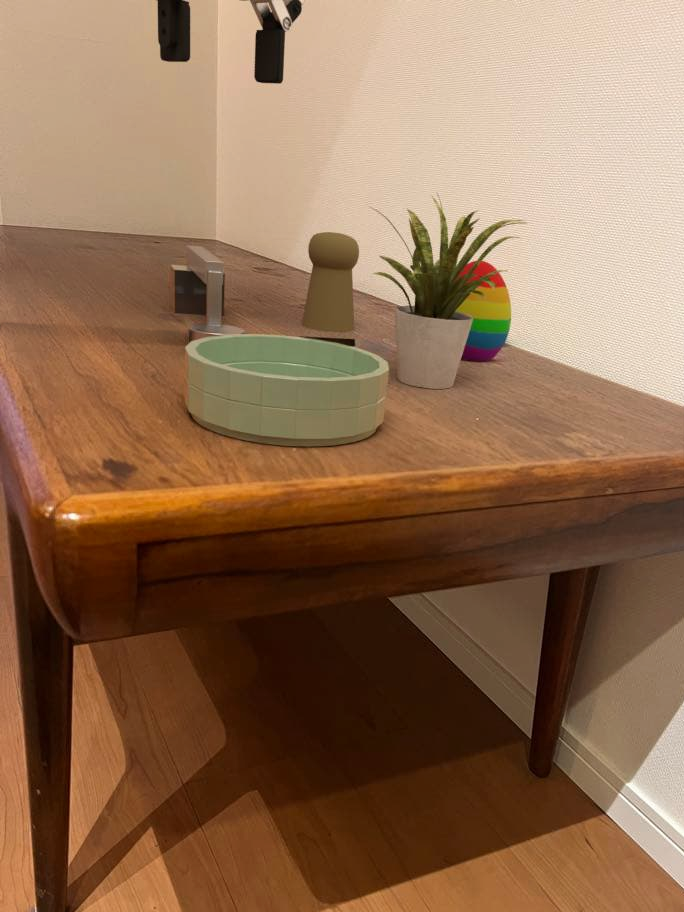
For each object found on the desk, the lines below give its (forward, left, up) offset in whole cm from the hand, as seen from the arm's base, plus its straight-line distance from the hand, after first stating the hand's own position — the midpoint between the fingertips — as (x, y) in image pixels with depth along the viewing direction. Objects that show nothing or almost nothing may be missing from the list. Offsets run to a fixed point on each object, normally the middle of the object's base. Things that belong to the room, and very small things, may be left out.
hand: (224, 72), depth 66 cm
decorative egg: (+27, +1, -23) cm, 36 cm away
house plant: (+18, -12, -23) cm, 32 cm away
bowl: (+1, -23, -23) cm, 33 cm away
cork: (+12, +5, -23) cm, 27 cm away
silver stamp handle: (-1, +3, -23) cm, 23 cm away
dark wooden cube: (-1, +10, -23) cm, 25 cm away
